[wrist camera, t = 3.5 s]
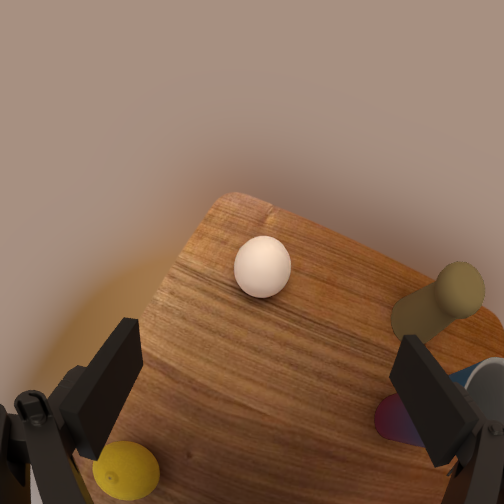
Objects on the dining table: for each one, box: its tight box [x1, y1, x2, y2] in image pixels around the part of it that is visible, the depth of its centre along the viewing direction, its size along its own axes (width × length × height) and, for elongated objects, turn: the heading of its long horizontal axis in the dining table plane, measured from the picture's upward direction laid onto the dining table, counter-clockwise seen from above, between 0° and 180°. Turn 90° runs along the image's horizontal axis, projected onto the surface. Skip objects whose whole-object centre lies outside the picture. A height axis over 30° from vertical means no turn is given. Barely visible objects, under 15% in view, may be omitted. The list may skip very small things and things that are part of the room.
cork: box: [391, 261, 485, 344], centre depth 27 cm, size 6×6×11 cm
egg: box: [234, 236, 291, 298], centre depth 30 cm, size 5×5×8 cm
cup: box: [374, 357, 504, 448], centre depth 20 cm, size 7×7×15 cm
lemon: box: [93, 441, 160, 500], centre depth 20 cm, size 6×6×8 cm
